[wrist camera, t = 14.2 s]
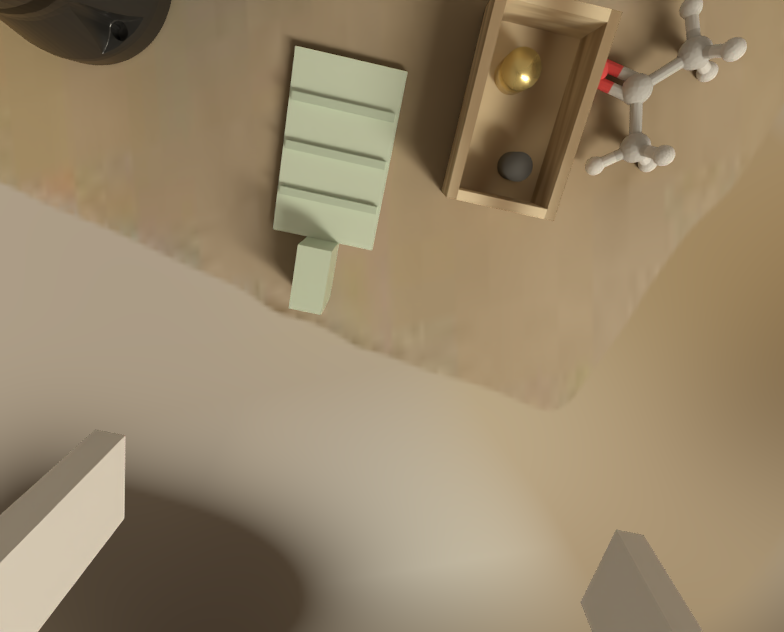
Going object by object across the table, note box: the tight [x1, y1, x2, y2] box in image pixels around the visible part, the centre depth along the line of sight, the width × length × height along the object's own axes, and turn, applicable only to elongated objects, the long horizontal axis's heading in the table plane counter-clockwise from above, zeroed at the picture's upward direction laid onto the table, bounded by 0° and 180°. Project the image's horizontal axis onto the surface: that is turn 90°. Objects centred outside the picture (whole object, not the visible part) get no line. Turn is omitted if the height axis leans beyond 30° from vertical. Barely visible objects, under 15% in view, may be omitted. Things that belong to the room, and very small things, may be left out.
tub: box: [441, 0, 623, 221], centre depth 38 cm, size 9×15×6 cm, turn 168°
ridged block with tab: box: [273, 46, 408, 315], centre depth 41 cm, size 10×22×5 cm, turn 168°
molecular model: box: [585, 0, 747, 175], centre depth 38 cm, size 14×8×10 cm
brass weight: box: [494, 47, 542, 95], centre depth 37 cm, size 3×3×4 cm
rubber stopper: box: [497, 152, 533, 182], centre depth 40 cm, size 2×2×3 cm
